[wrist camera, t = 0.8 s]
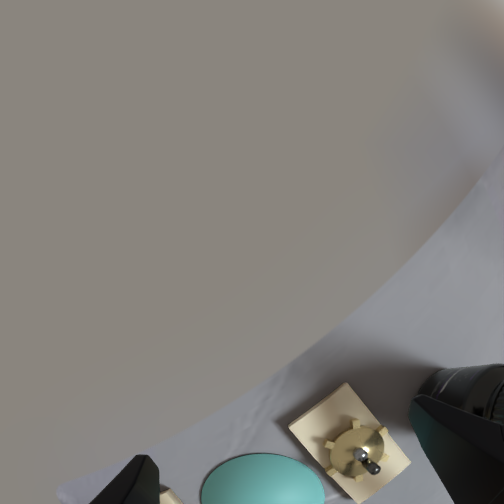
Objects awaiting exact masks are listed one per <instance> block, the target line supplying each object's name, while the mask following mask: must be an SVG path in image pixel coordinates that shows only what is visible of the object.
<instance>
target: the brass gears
mask: <svg viewBox="0 0 504 504" xmlns="http://www.w3.org/2000/svg"><path fill="white" fill-rule="evenodd" d="M387 432H388V430H387V429H386V427H385V426H382V425H380V426H379V427H378V428H377V429H375V430H374V429H372V428H370V427H367V426H361V425H360V420H359V419H357V418H354V419H350V428H347V429H345V430H344V431H342V432H341V433H339V434H338V435H337V436H336V437H335V439H334V440H330V439H327V438H325V440H324V442H323V446H324V447H325V448H329V460H330V462H331V465H329V466H328V467H326V468H325V471H326V473H327V474H328V475H329V476H330V477H331V476H332V475H334V474H335V473H337V472H339V473H340V474H342V475H345V476H353V479H354V480H355V482H356V483H357V482H360V481H363V474H364V473H366V472H369V473H370V474H371V475H377V474H378V473H379V472H380V470H381V467H380V466H379V465H378V462H379V461H383V462H387V460H388V458H389V455H387V454H386V453H384V440H383V438H382V437H383V436H384V435H385V434H386V433H387Z"/></svg>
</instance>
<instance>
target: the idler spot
mask: <svg viewBox="0 0 504 504" xmlns="http://www.w3.org/2000/svg"><path fill="white" fill-rule="evenodd" d="M324 499H325V495H324V489H323V486H322V484H321V482H320V480H319V478H318V477H317V476H316V474H315V473H314V472H313V471H312V470H311V469H310V468H308V467H307V466H306V465H304V464H302V463H301V462H299V461H297V460H294V459H292V458H289V457H285V456H281V455H275V454H251V455H245V456H241V457H238V458H235V459H232V460H230V461H228V462H226V463H224V464H222V465H221V466H219V467H218V468H217V469H215V470H214V471H213V472H212V473H211V474H210V476H209V477H208V479H207V480H206V482H205V484H204V486H203V489H202V495H201V501H202V504H324Z"/></svg>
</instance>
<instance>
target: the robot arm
mask: <svg viewBox="0 0 504 504" xmlns="http://www.w3.org/2000/svg"><path fill="white" fill-rule="evenodd" d="M408 417H409V420H410V422H411V424H412V426H413V429H414V431H415V433H416V435H417V438H418V440H419V442H420V444H421V447H422V449H423V451H424V453H425V454H426V456H427V458H428V459H429V461H430V463H431V464H432V466H433V468H434V469H435V471H436V473H437V474H438V476H439V478H440V479H441V481H442V483H443V484H444V486H445V488H446V490H447V491H448V493H449V495H450V497H451V498H452V500H453V502H454V504H504V425H500V424H498V423H495V422H493V421H490V420H487V419H484V418H482V417H479V416H476V415H473V414H471V413H468V412H466V411H463V410H460V409H458V408H455V407H453V406H450V405H448V404H445V403H443V402H440V401H438V400H436V399H433V398H431V397H428V396H426V395H423V394H420V395H418V396H416V397H414V398H412V399H411V402H410V407H409V412H408ZM89 504H160V488H159V469H158V467H157V465H156V464H155V463H154V462H153V460H152V459H151V458H150V456H148V455H141V454H139V455H136V456H135V457H134V458H133V459H132V460H131V461H130V462H129V463H128V464H127V465H126V466H125V467H124V469H123V470H122V471H121V472H120V473H119V474H118V475H117V476H116V477H115V478H114V479H113V480H112V481H111V482H110V483H109V484H108V485H107V486H106V487H105V488H104V489H103V490H102V491H101V492H100V493H99V494H98V495H97V496H96V497H95V498H94V499H93V500H92V501H91V502H90V503H89Z"/></svg>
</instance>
